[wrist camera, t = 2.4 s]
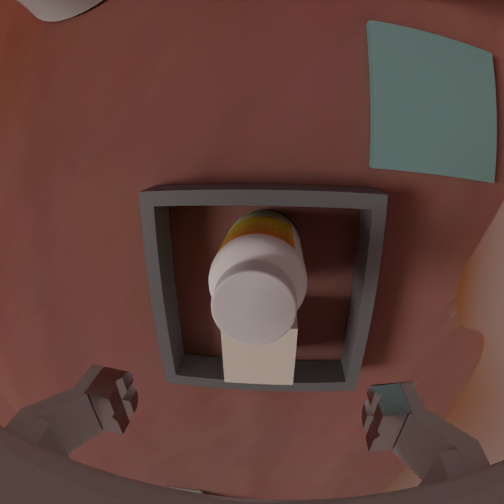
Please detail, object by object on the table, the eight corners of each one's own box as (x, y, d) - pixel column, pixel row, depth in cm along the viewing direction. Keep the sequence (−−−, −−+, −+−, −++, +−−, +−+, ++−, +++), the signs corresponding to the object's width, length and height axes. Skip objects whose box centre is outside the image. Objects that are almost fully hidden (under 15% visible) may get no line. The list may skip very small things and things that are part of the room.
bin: (155, 185, 23) (138, 191, 20) (374, 188, 21) (388, 194, 19) (175, 361, 28) (166, 382, 25) (349, 368, 27) (355, 390, 24)
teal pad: (366, 24, 17) (369, 19, 16) (485, 55, 16) (491, 53, 15) (369, 166, 21) (373, 168, 20) (487, 181, 20) (494, 183, 19)
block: (231, 292, 25) (220, 326, 20) (294, 294, 25) (297, 329, 20) (233, 343, 27) (224, 381, 22) (291, 345, 26) (292, 385, 22)
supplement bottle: (212, 233, 23) (172, 291, 14) (275, 194, 22) (272, 231, 13) (252, 290, 25) (237, 371, 16) (313, 256, 23) (332, 327, 14)
